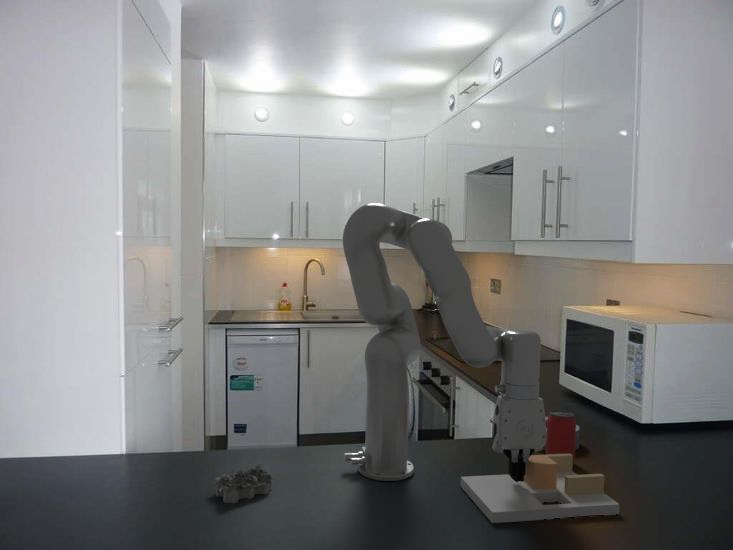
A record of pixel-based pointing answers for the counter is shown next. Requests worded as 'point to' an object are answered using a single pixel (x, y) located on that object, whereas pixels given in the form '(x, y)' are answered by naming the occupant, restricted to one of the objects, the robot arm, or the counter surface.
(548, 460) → the block
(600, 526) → the counter surface
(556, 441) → the beer can
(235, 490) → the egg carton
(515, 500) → the white flat board
